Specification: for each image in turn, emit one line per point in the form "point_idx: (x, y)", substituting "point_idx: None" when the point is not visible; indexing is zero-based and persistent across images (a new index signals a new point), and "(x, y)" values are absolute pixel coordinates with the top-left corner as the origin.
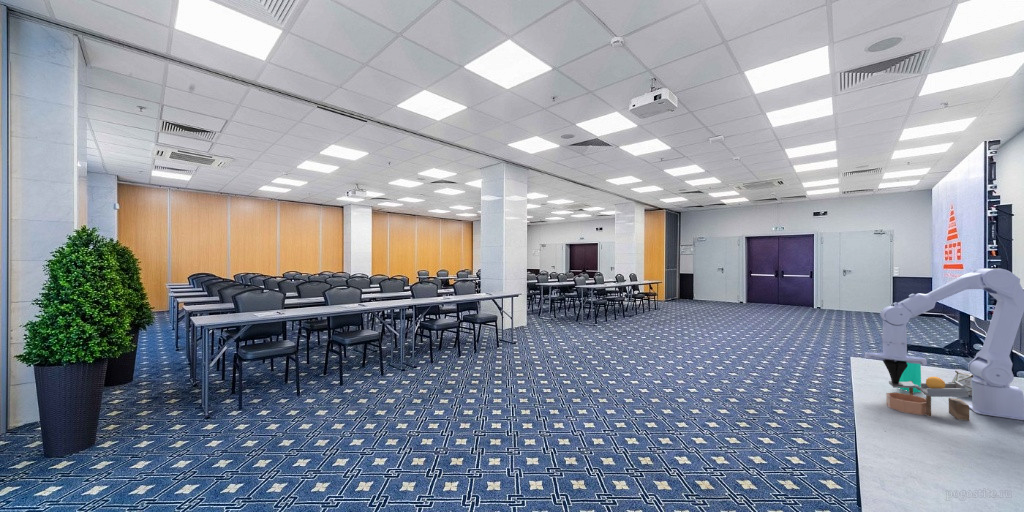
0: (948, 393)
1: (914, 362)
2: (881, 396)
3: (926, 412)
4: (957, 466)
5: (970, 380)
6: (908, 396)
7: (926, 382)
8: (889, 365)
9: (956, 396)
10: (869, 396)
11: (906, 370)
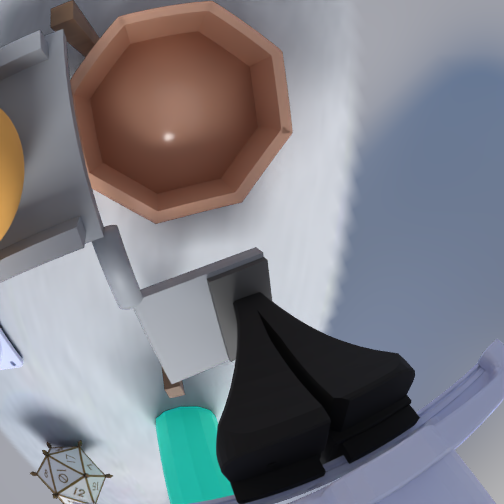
0: None
1: None
2: (272, 268)
3: None
4: None
5: (58, 482)
6: (170, 202)
7: (9, 139)
8: (382, 360)
9: None
10: (318, 225)
11: (207, 478)
